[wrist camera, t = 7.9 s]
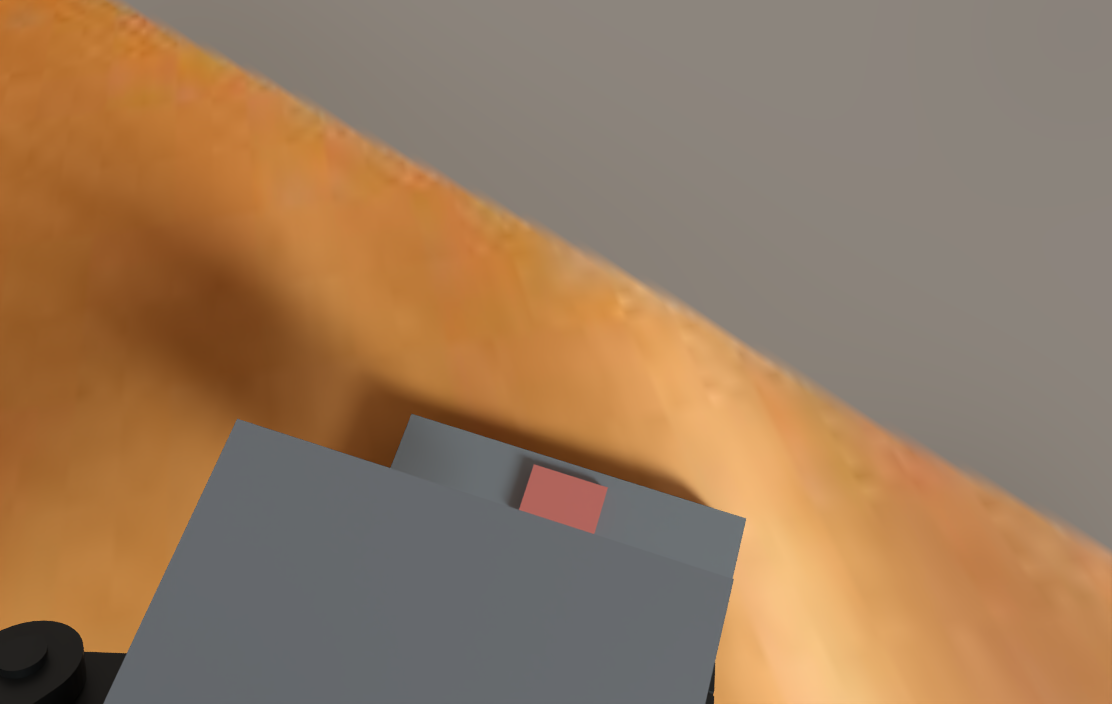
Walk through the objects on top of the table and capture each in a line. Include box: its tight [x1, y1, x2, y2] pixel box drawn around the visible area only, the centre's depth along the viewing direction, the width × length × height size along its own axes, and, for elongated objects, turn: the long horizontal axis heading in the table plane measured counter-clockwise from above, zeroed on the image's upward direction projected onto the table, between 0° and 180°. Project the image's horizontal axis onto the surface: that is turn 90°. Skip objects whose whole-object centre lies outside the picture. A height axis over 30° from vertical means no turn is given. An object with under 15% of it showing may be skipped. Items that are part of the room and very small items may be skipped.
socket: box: [391, 414, 746, 578], centre depth 28 cm, size 14×14×4 cm
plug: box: [103, 419, 734, 704], centre depth 12 cm, size 5×5×13 cm
